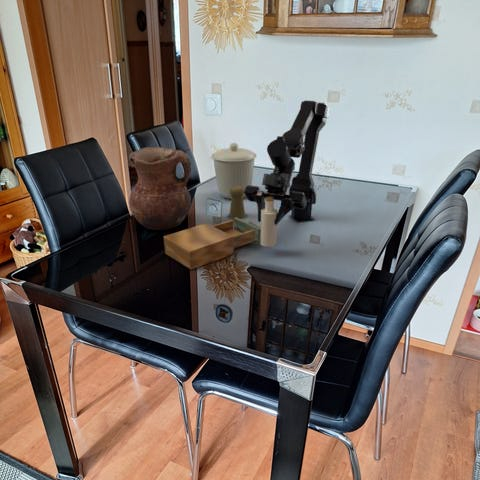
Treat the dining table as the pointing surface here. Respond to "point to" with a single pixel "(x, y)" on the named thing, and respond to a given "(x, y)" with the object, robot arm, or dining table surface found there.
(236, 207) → the pepper mill
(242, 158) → the canister
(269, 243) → the bottle
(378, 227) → the dining table surface
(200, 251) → the wooden box
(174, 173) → the jug
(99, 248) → the dining table surface
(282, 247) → the dining table surface
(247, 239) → the drawer
